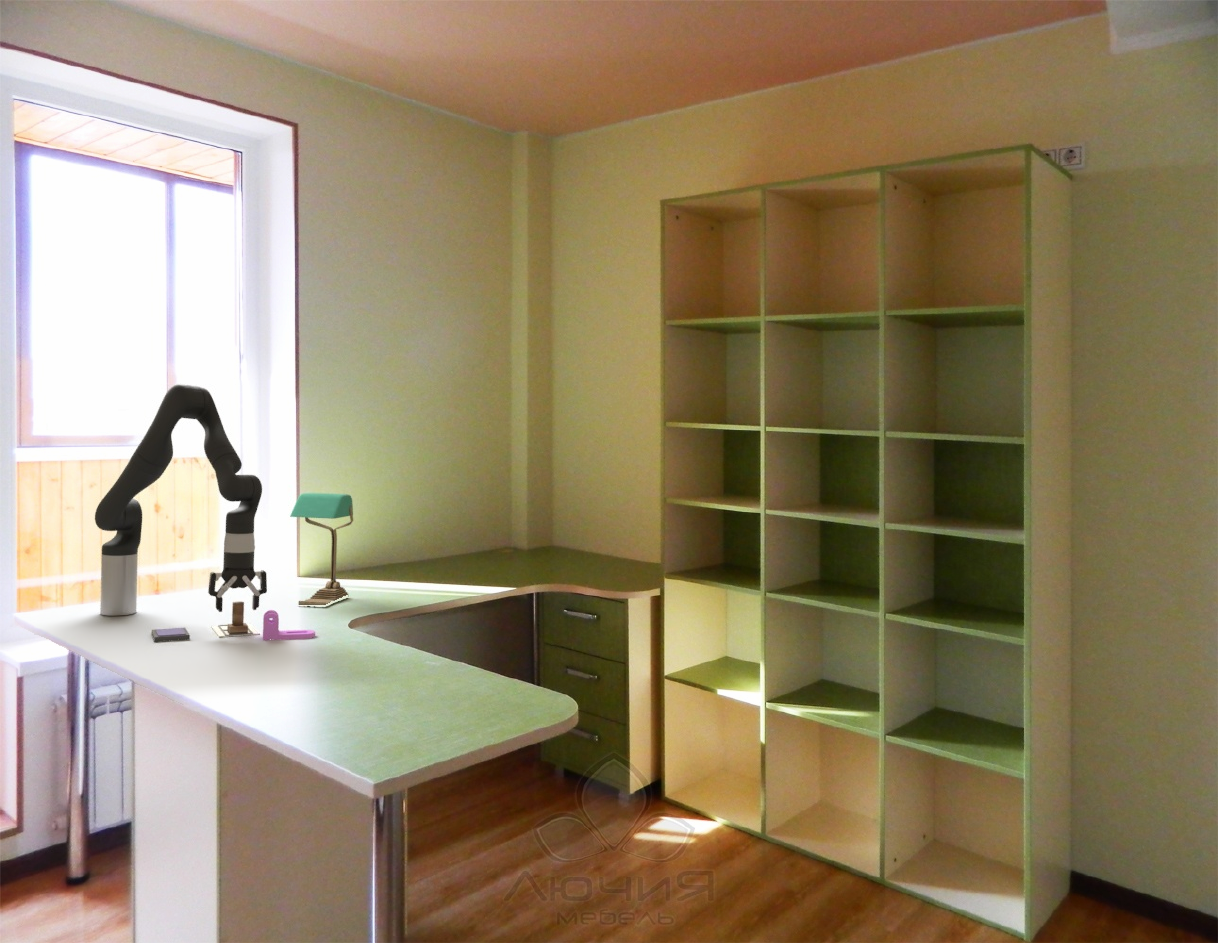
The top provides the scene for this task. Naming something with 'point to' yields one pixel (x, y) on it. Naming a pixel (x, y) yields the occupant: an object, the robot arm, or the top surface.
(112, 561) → the robot arm
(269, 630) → the bracket
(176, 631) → the ink pad
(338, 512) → the banker's lamp
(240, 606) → the stamp
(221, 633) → the sheet
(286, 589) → the top surface
